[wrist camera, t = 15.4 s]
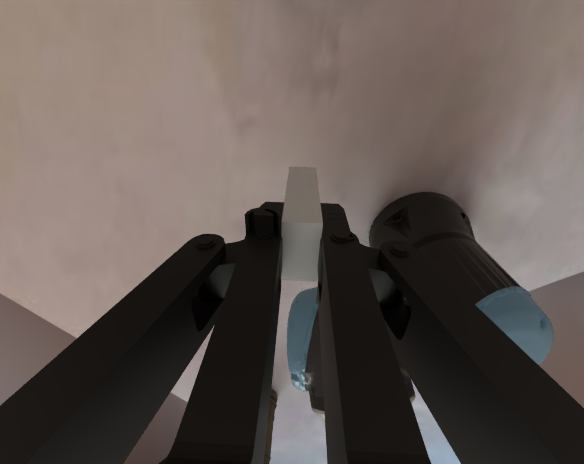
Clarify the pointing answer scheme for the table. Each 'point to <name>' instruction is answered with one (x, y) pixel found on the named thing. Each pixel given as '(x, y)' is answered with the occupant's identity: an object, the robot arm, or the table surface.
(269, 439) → the container
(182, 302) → the robot arm
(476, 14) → the table surface
